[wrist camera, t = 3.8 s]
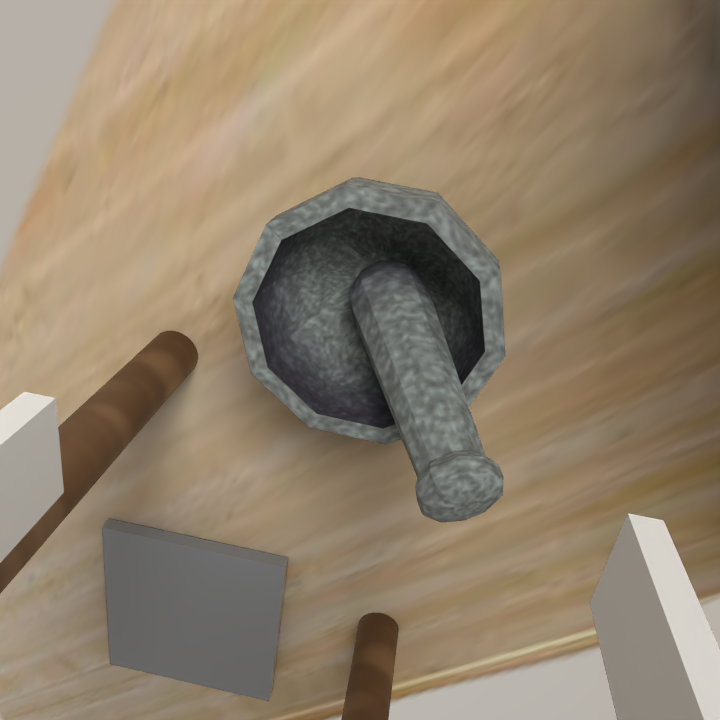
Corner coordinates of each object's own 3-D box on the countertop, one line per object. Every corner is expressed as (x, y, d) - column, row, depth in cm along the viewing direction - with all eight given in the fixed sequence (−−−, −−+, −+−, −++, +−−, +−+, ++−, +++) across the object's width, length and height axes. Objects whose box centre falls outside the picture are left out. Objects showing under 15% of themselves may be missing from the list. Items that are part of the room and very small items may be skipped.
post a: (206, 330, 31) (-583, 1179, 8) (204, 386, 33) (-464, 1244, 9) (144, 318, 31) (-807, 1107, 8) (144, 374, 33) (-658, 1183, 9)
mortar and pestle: (242, 256, 29) (114, 373, 19) (388, 105, 26) (333, 143, 15) (407, 418, 32) (377, 604, 21) (562, 302, 28) (623, 456, 17)
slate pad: (288, 557, 37) (284, 567, 36) (272, 690, 42) (269, 701, 42) (108, 518, 38) (102, 527, 37) (115, 653, 43) (110, 663, 42)
